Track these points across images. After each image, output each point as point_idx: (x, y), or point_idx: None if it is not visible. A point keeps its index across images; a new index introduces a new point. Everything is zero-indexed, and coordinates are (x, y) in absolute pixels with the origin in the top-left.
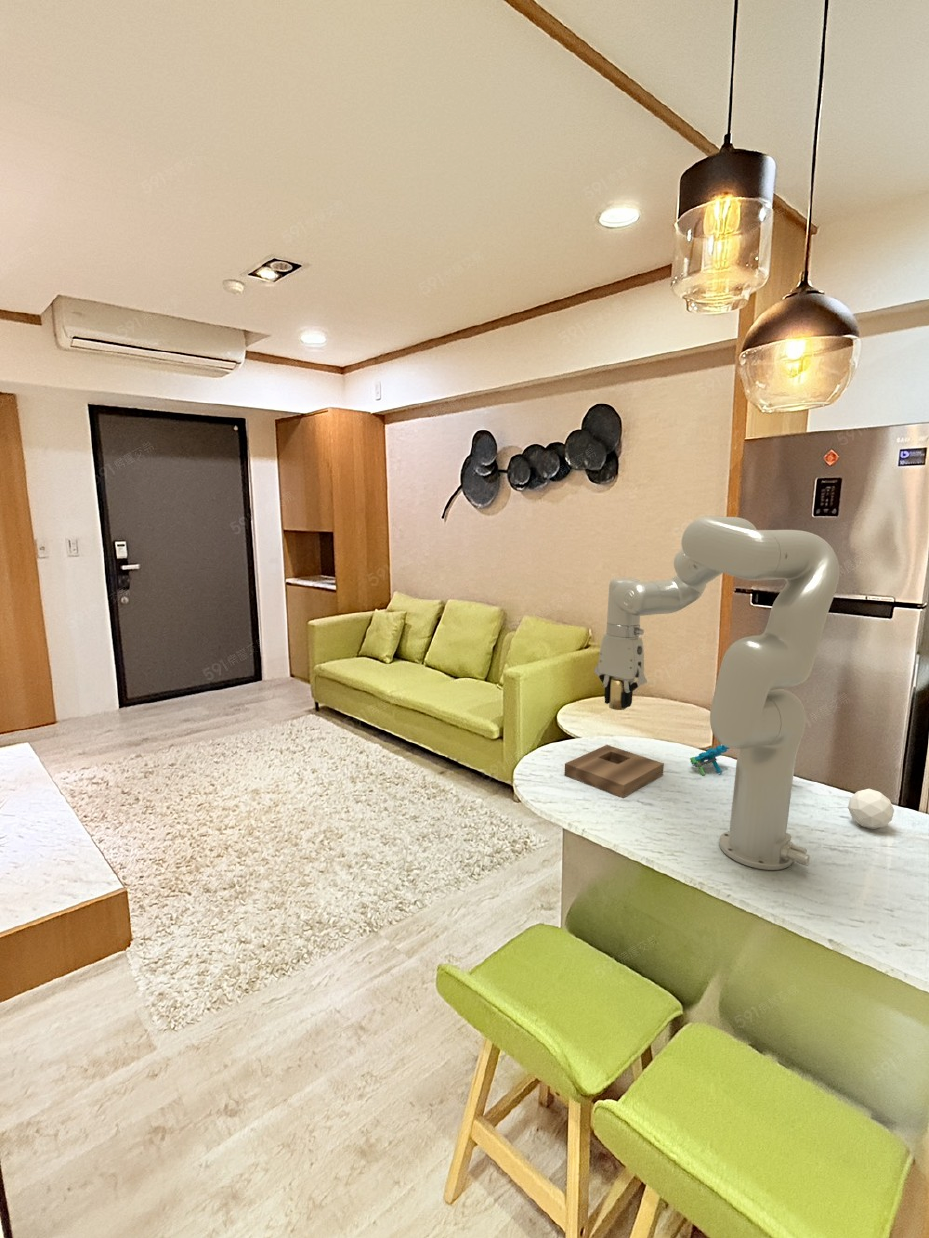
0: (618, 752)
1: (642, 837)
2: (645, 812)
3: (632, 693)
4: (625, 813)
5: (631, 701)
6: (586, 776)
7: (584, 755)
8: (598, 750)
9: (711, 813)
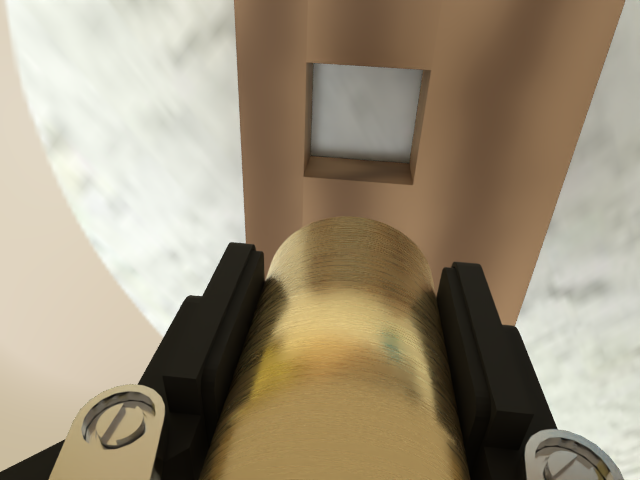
0: (344, 42)
1: (617, 438)
2: (595, 339)
3: (555, 425)
4: (540, 372)
5: (518, 346)
6: None
7: (249, 200)
8: (254, 99)
9: None
